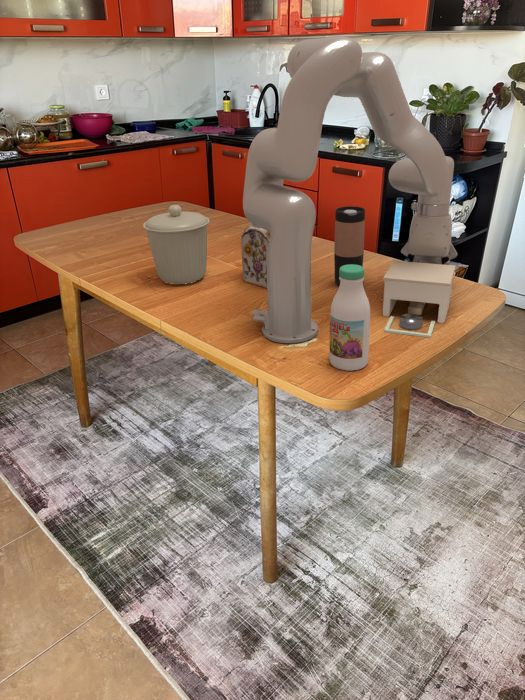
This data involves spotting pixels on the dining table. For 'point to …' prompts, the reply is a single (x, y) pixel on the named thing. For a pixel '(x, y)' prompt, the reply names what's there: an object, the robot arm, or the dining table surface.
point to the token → (410, 321)
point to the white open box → (418, 285)
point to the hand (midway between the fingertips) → (426, 278)
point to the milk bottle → (350, 321)
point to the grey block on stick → (418, 306)
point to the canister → (178, 245)
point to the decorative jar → (255, 254)
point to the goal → (409, 331)
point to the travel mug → (348, 238)
